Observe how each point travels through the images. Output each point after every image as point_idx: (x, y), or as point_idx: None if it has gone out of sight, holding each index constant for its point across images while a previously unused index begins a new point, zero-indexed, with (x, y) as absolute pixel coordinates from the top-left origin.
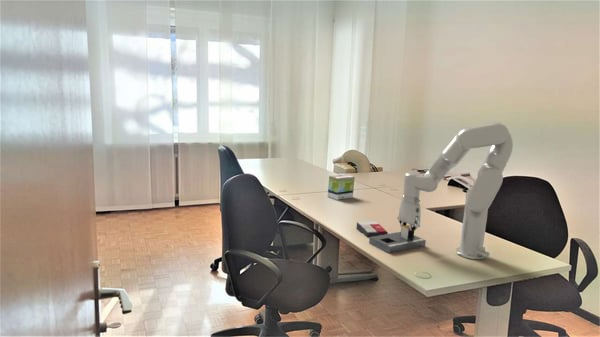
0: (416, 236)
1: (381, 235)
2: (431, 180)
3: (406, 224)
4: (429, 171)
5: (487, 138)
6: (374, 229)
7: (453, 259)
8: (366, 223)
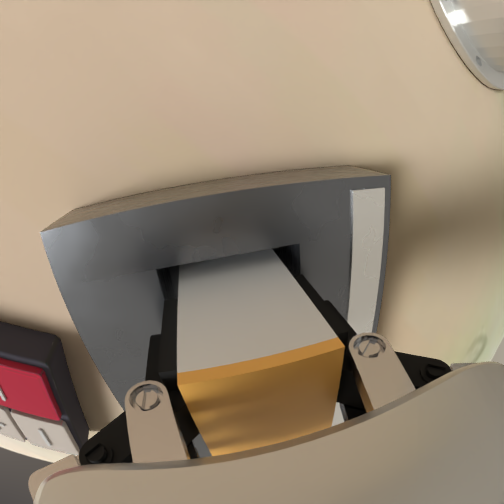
0: (258, 192)
1: None
2: None
3: (175, 416)
4: None
5: None
6: (31, 420)
7: (494, 157)
8: None
